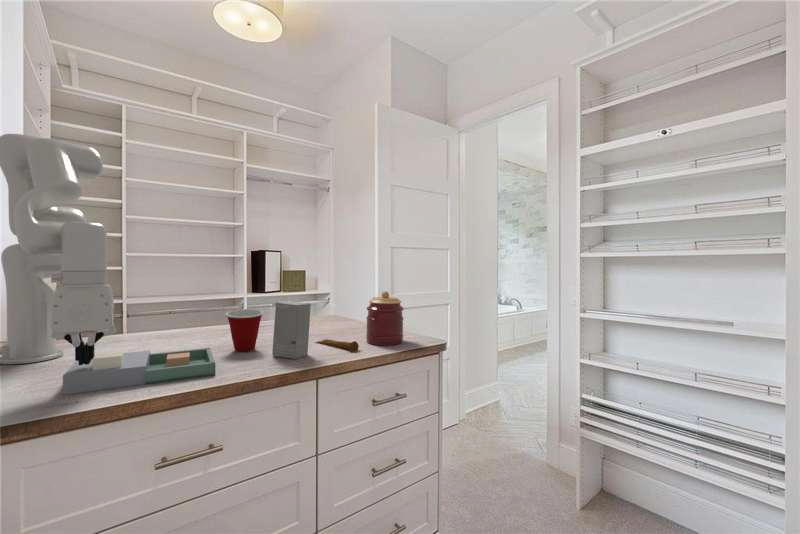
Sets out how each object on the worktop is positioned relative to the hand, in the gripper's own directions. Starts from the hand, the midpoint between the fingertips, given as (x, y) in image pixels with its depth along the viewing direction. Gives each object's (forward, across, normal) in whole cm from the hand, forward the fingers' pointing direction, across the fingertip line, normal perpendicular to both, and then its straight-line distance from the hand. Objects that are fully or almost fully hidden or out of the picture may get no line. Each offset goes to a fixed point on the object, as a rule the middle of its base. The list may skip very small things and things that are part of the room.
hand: (85, 363), depth 80 cm
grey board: (+5, +4, +4) cm, 8 cm away
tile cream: (+1, +4, 0) cm, 4 cm away
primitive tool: (+6, +62, +10) cm, 63 cm away
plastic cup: (+5, +35, +18) cm, 40 cm away
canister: (+6, +79, +9) cm, 80 cm away
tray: (+5, +18, +4) cm, 19 cm away
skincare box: (+5, +46, +6) cm, 47 cm away
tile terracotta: (+2, +17, +7) cm, 19 cm away
